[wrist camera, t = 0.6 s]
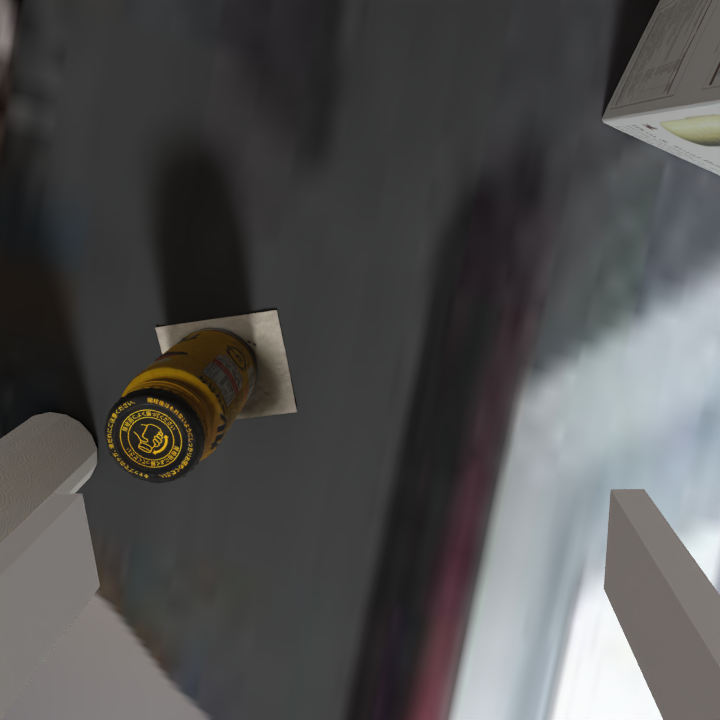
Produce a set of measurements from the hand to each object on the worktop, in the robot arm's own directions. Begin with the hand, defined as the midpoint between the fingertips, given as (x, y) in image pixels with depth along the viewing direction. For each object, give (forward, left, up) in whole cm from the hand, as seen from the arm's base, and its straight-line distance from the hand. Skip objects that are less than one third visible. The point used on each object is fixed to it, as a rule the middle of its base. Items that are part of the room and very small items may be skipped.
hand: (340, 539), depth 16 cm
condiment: (+8, +8, -28) cm, 30 cm away
